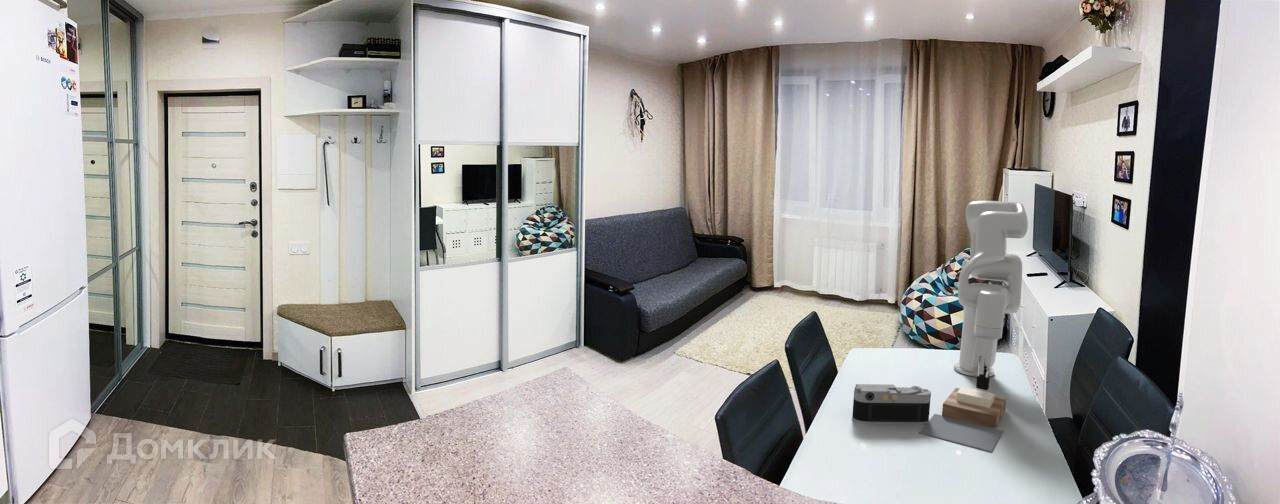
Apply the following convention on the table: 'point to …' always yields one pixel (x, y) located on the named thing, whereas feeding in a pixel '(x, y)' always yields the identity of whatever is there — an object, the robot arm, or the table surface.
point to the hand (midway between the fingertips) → (982, 388)
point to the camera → (891, 404)
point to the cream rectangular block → (975, 397)
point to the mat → (962, 432)
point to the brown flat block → (974, 411)
